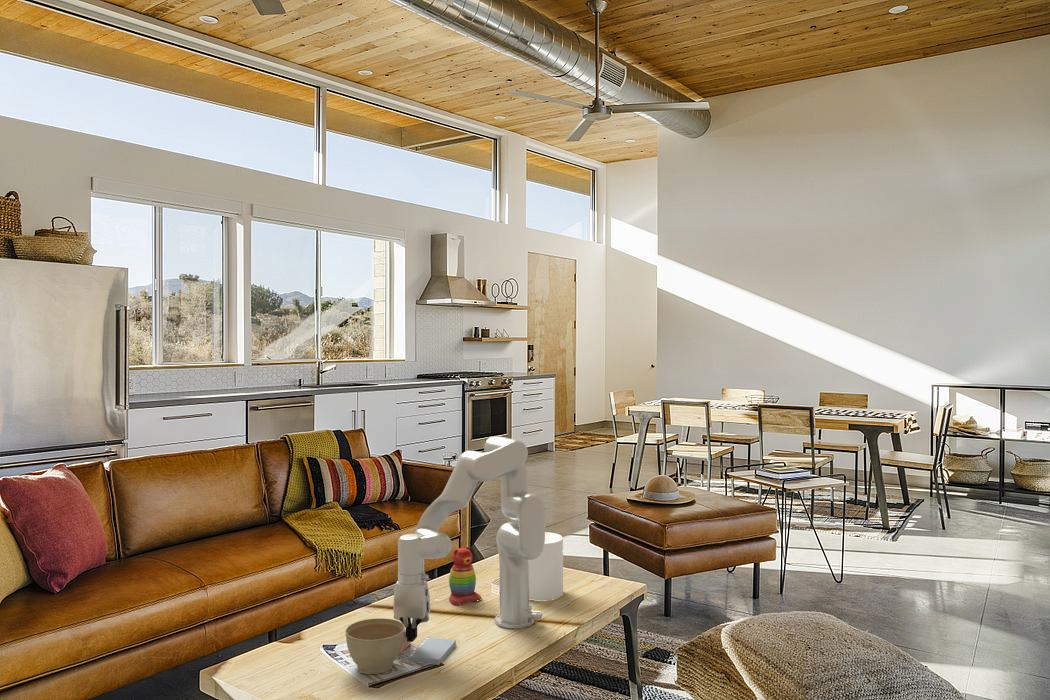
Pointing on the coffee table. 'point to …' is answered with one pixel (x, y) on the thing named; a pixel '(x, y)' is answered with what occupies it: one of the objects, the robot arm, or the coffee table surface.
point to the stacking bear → (462, 578)
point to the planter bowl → (375, 643)
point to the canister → (547, 570)
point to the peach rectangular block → (404, 642)
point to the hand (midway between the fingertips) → (411, 640)
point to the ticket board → (432, 651)
